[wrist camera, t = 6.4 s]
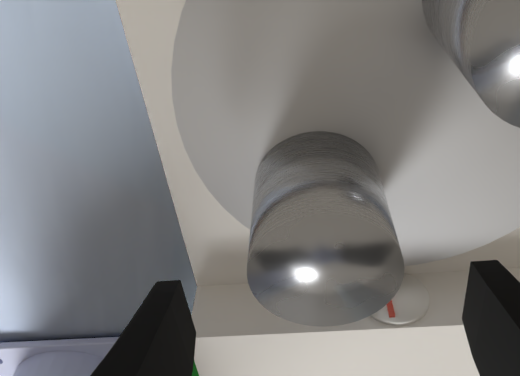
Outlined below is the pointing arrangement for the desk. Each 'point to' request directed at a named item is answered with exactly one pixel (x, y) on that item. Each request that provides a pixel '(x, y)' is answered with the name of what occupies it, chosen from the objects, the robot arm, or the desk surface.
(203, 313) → the scale
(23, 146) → the desk surface
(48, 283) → the desk surface
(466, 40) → the cylinder
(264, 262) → the cylinder
